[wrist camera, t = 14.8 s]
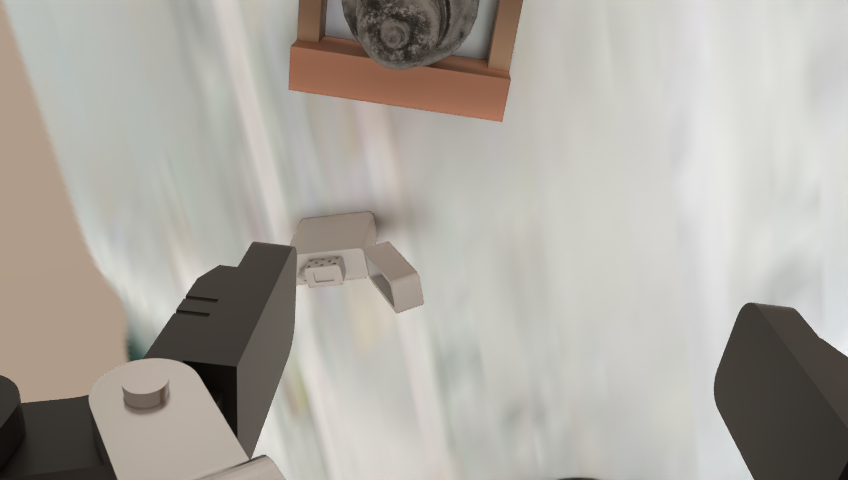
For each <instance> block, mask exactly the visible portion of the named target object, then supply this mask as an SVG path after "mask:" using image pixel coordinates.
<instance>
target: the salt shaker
mask: <svg viewBox="0 0 848 480" xmlns="http://www.w3.org/2000/svg"><path fill="white" fill-rule="evenodd" d="M342 5H343V11H344V16H345V19H346V21H347V23H348V25H349V27H350V30H351V32H352V34H353V35H354V36H355V38H356V39H357V40H358V41H359V43H360V44H361V45H362V47H363V49H364V50H365V51H366V53H367V54H368V55H369V57H370V58H371V59H373V60H374V61H375V62H376V63H378V64H379V65H381V66H384V67H386V68H388V69H394V70H404V69H410V68H413V67H420V66H428V65H431V64H433V63H435V62H438V61H440V60H443V59H445V58H446V57H447V56H449V55H450V54H451V53H453V52H454V51H455V50H457V49H458V48H459V47H460V45H461V44H462V43H463V42H464V40H465V39H466V38H467V36H468V35H469V34H470V31H471V29H472V27H473V24H474V22H475V20H476V17H477V12H478V6H479V0H342Z"/></svg>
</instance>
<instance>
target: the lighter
mask: <svg viewBox="0 0 848 480" xmlns="http://www.w3.org/2000/svg"><path fill="white" fill-rule="evenodd" d="M377 236H378V235H377V230H376V225H375V220H374V215H373V213H371V212H370V211H367V212H358V213H349V214H341V215H332V216H323V217H314V218H305V219H302V221H301V222H300V224H299V226H298V228H297V230H296V233H295V235H294V237H293V239H292V241H291V243H290V246H294V247H296V251H297V273H296V285H303V284H308V285H309V287H310V288H311V287H321V286H331V285H340V284H343V282H344V280H351V279H361V278H366V277H367V276H368V275H369V278H370V280H371V281H372V282H373V284H374V285H375V286H376V288H377V289H378V290H379V291H380V293H381V294H382V295H383V297H384V298H385V299H386V301H387V302H388V303H389V304H390V306H391V307H392V308H393V310H394V311H395V312H396V313H400V312H403V311H406V310H408V309H411V308H414V307H417V306H420V305H422V304H423V303H424V301H423V295H422V289H421V284H420V278H419V275H418V273H417V271H416V270H415V269H414V268H413V267H412V266H411V265H410V264H409V263H408V262H407V261H406V259H405V258H404V257H403V256H402V255H401V254H400V253H399V252H398V251H397V250H396V249H395V248H394V247H393V246H392V244H391V243H390V242H389V241H387V242H384V243H381V244H378V245H376V241H377Z"/></svg>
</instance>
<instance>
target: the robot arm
mask: <svg viewBox="0 0 848 480" xmlns="http://www.w3.org/2000/svg"><path fill="white" fill-rule="evenodd" d="M296 273H297V251H296V247H294V246H286V245H278V244H269V243H261V242H253V243H252V244H251V246H250V247H249V249H248V251H247V252H246V254H245V256H244V257H243V259H242V261H241V262H240V264H239V266H238V267H231V266H223V265H219V266H217V267H216V268H214V269H212V270H211V271H209V272H207V273H206V274H204V275H202V276H201V277H199V278H198V279H197V280H196V282H195V283H194V284H193V286H192V287H191V289H190V290H189V292H188V293H187V295H186V299H183V301H182V302H181V304H180V305H179V307H178V308H177V309H176V313H174V314H173V315H172V317H171V318H170V320H169V321H168V323H167V324H166V326H165V327H164V329H163V330H162V331H161V333H160V334H159V336H158V337H157V339H156V340H155V342H154V343H153V345H152V346H151V348H150V349H149V351H148V352H147V354H146V355H145V356H144V358H143V359H141V360H137V361H132V362H129V363H125V364H123V365H120V366H118V367H116V368H114V369H112V370H110V371H108V372H107V373H105V374H104V375H103V376H102V377H100V378H99V379H98V380H97V381H96V382H95V384H94V385H93V387H92V388H91V391H90V394H89V395H86V396H82V397H76V398H69V399H59V400H49V401H39V402H29V403H21V399H20V394H19V390H18V388H17V386H16V385H15V383H13V382H12V381H11V380H10V379H8V378H6V377H4V376H1V375H0V480H286V479H285V478H284V476H283V475H282V473H281V471H280V470H279V468H278V467H277V465H276V464H275V463H274V461H273V460H272V459H271V458H270V457H268V456H266V455H261V456H258V457H256V458H253V459H251V458H252V455H253V452H254V449H255V447H256V444H257V441H258V439H259V436H260V433H261V430H262V428H263V425H264V422H265V419H266V417H267V414H268V411H269V408H270V406H271V403H272V400H273V398H274V395H275V392H276V389H277V387H278V384H279V381H280V378H281V376H282V373H283V370H284V367H285V365H286V362H287V359H288V356H289V353H290V349H291V345H292V340H293V333H294V324H295V301H296ZM714 397H715V402H716V406H717V408H718V410H719V412H720V414H721V416H722V418H723V420H724V422H725V424H726V426H727V428H728V430H729V432H730V434H731V436H732V438H733V440H734V442H735V443H736V445H737V447H738V449H739V451H740V453H741V455H742V457H743V459H744V461H745V463H746V465H747V467H748V469H749V471H750V473H751V475H752V477H753V479H754V480H848V357H847V356H845V355H844V354H842V353H841V352H840V351H838V350H837V349H835V348H834V347H833V346H831V345H830V344H828V343H827V342H826V341H824V340H823V339H821V338H819V337H818V336H817V334H816V333H815V332H814V331H813V329H812V328H811V327H810V326H809V325H808V323H807V322H806V321H805V320H804V319H803V317H802V316H801V315H800V314H799V313H798V311H797V310H795V309H794V308H791V307H783V306H775V305H766V304H758V303H747V304H745V305H744V306H743V307H742V308H741V310H740V312H739V314H738V316H737V319H736V322H735V324H734V327H733V329H732V332H731V335H730V337H729V340H728V343H727V345H726V348H725V351H724V353H723V356H722V359H721V361H720V364H719V367H718V369H717V372H716V376H715V382H714Z"/></svg>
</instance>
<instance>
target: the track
mask: <svg viewBox="0 0 848 480" xmlns="http://www.w3.org/2000/svg"><path fill="white" fill-rule="evenodd" d="M522 3H523V0H498V1H497V6H496V12H495V17H494V23H493V28H492V34H491V39H490V45H489V50H488V55H487V61H484V60H478V59H471V58H465V57H458V56H452V55H449V56H447V57H446V58H445V59H443V60H440V61H438V62H435V63H433V64H431V65H428V66H420V67H413V68H410V69H404V70H394V69H388V68H386V67H384V66H381V65H379V64H378V63H376V62H375V61H374V60H373V59H371V58H370V57H369V55H368V54H367V53H366V51H365V50H364V49H363V47H362V45H361V44H360V43H359V41H353V40H347V39H340V38H334V37H327V36H324V35H325V21H326V7H327V0H299V16H298V35H297V41H296V42H295V43H294V44H293V45H292V46H291V51H290V72H289V90H293V91H300V92H307V93H313V94H320V95H327V96H333V97H340V98H347V99H353V100H360V101H367V102H373V103H380V104H386V105H393V106H400V107H406V108H413V109H420V110H426V111H433V112H440V113H446V114H453V115H460V116H466V117H473V118H480V119H486V120H493V121H500V122H502V120H503V115H504V110H505V106H506V101H507V96H508V91H509V86H510V81H511V79H510V75H509V68H510V63H511V58H512V53H513V48H514V43H515V38H516V33H517V28H518V23H519V18H520V13H521V8H522Z"/></svg>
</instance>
